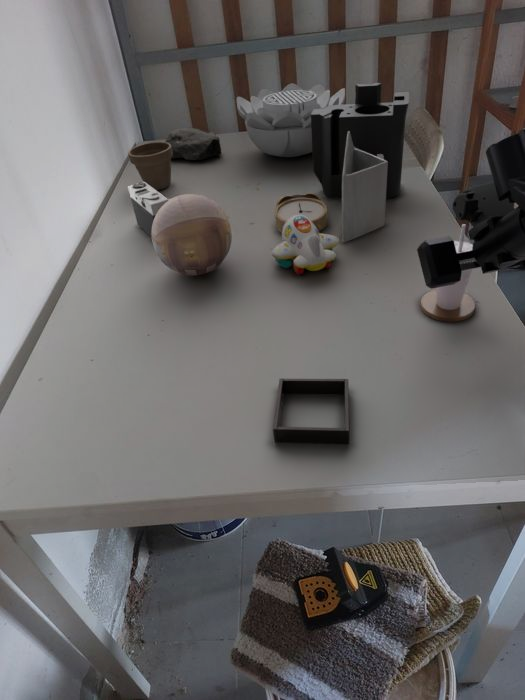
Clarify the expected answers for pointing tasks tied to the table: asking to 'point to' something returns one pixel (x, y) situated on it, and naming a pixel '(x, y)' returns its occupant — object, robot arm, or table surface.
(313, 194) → the alarm clock
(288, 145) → the decorative bowl
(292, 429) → the black square tray
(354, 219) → the grey angular upright piece
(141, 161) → the flower pot
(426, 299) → the coaster
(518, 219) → the robot arm
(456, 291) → the smoothie
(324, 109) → the black machined bracket
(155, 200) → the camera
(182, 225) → the ornament
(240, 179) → the table surface
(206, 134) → the stone
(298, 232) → the toy airplane
